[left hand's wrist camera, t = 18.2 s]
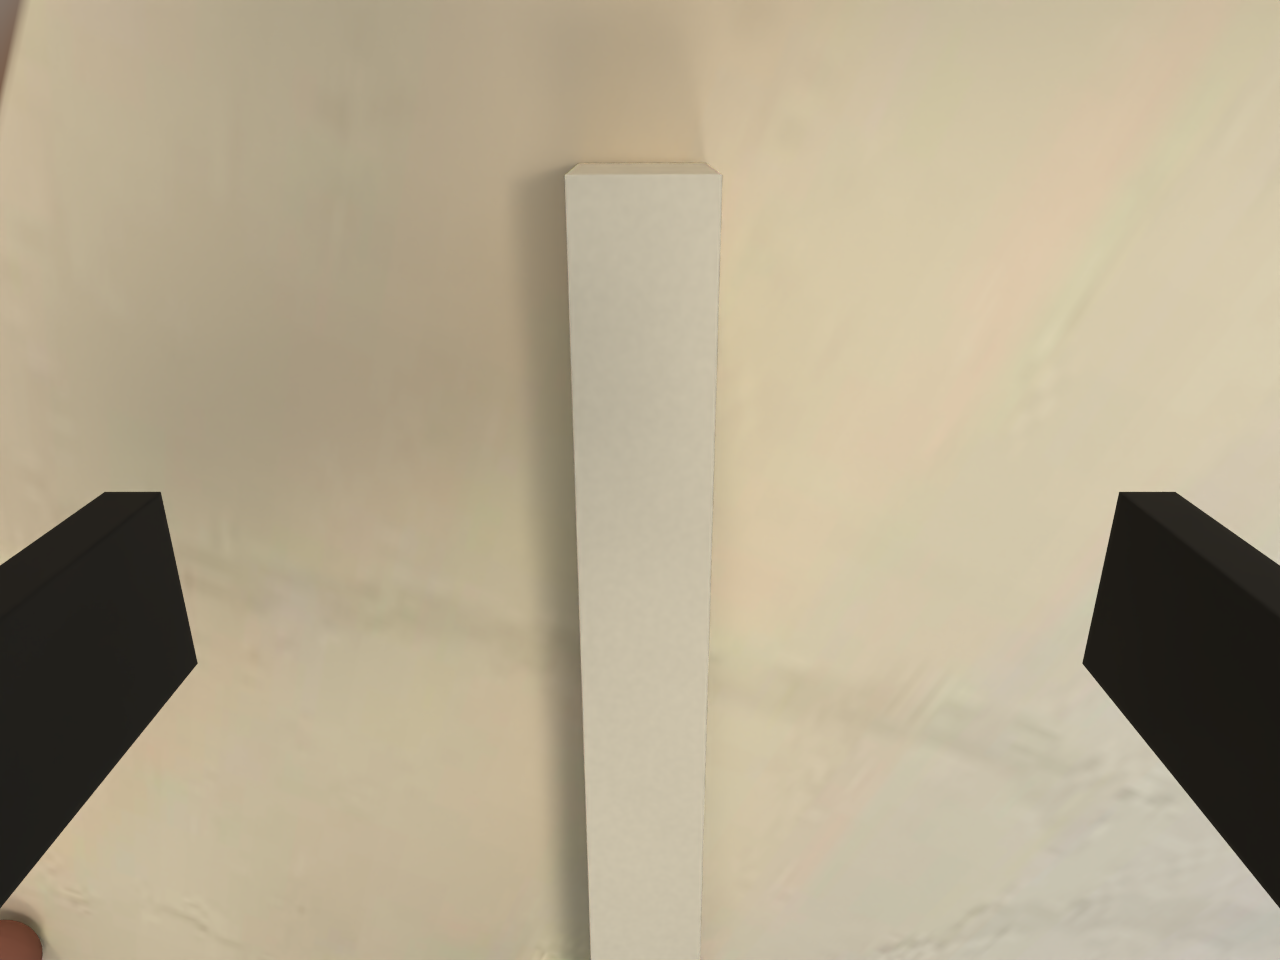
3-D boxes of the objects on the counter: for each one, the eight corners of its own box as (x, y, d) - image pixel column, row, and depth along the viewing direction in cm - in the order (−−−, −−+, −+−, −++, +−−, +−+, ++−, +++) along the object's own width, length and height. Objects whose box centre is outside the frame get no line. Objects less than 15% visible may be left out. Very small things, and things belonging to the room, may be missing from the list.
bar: (577, 163, 41) (564, 174, 33) (706, 162, 41) (722, 173, 33) (606, 1174, 67) (602, 1307, 60) (684, 1173, 67) (690, 1307, 60)
